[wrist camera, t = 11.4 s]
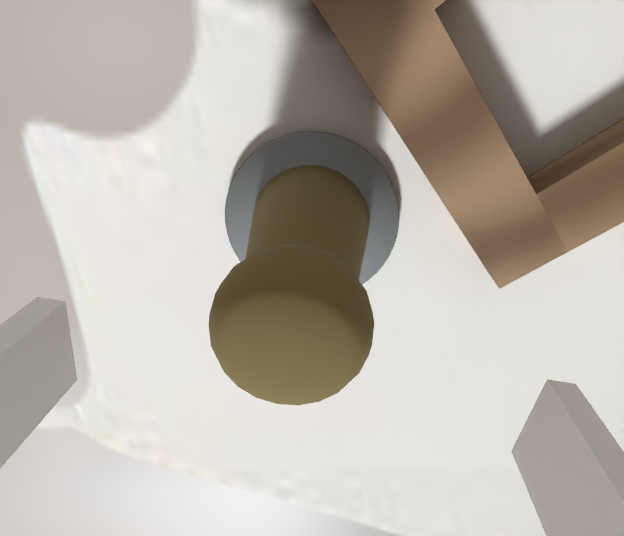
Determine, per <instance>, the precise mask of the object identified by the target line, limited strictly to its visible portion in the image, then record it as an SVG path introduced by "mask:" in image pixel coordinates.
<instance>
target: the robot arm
mask: <svg viewBox="0 0 624 536" xmlns="http://www.w3.org/2000/svg"><path fill="white" fill-rule="evenodd" d="M76 380H77V376H76V369H75V362H74V356H73V349H72V343H71V335H70V329H69V322H68V315H67V309H66V302H65V301H59V300H53V299H47V298H40V297H37V298H36V299H35V300H33V301H32V302H31V303H29V304H28V305H27V306H25V307H24V308H23V309H21V310H20V311H19V312H18V313H16V314H15V315H13V316H12V317H10V318H9V319H8V320H6V321H5V322H4V323H3V324H1V325H0V468H1V467H2V466H3V464H4V463H5V462H6V461H7V460H8V459H9V458H10V456H11V455H12V454H13V453H14V452H15V451H16V450H17V448H18V447H19V446H20V445H21V444H22V443H23V441H24V440H25V439H26V438H27V437H28V436H29V435H30V433H31V432H32V431H33V430H34V429H35V428H36V426H37V425H38V424H39V423H40V422H41V421H42V420H43V418H44V417H45V416H46V415H47V414H48V413H49V411H50V410H51V409H52V408H53V407H54V406H55V404H56V403H57V402H58V401H59V400H60V399H61V398H62V396H63V395H64V394H65V393H66V392H67V391H68V389H69V388H70V387H71V386H72V385H73V384H74V383H75V381H76ZM512 453H513V456H514V458H515V461H516V463H517V465H518V468H519V470H520V473H521V475H522V478H523V480H524V482H525V485H526V487H527V490H528V492H529V494H530V497H531V499H532V502H533V504H534V506H535V509H536V511H537V514H538V516H539V518H540V521H541V523H542V526H543V528H544V531H545V533H546V535H547V536H624V452H623V451H622V449H621V448H620V446H619V445H618V443H617V442H616V441H615V439H614V438H613V436H612V435H611V433H610V432H609V431H608V429H607V428H606V426H605V425H604V423H603V422H602V421H601V419H600V418H599V416H598V415H597V414H596V412H595V411H594V409H593V408H592V406H591V405H590V404H589V402H588V401H587V399H586V398H585V396H584V395H583V394H582V392H581V391H580V389H579V388H578V386H577V385H576V384H572V383H566V382H560V381H553V380H547V381H546V383H545V385H544V387H543V389H542V391H541V393H540V395H539V397H538V399H537V401H536V403H535V405H534V407H533V409H532V411H531V413H530V415H529V417H528V419H527V421H526V423H525V425H524V427H523V429H522V431H521V433H520V435H519V437H518V439H517V441H516V443H515V445H514V447H513V449H512Z"/></svg>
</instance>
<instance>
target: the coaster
mask: <svg viewBox="0 0 624 536" xmlns="http://www.w3.org/2000/svg"><path fill="white" fill-rule="evenodd" d="M300 165H320V166H324V167H327V168H330V169H333V170H335V171H338V172H340V173H342V174H343V175H344V176H346V177H347V178H348V179H349V180H351V181H352V182H353V183H354V184H355V185H356V186H357V188H358V189H359V191H360V192H361V194H362V195H363V197H364V198H365V200H366V204H367V208H368V212H369V216H370V219H369V230H368V237H367V242H366V247H365V252H364V257H363V262H362V267H361V272H360V277H359V281H360V283H361V284H363V283H365V282H366V281H368V280H369V279H370V278H371V277H372V276H373V275H375V274H376V273H377V272H378V270H379V269H380V268H381V267H382V266H383V265H384V263H385V261H386V260H387V258H388V257H389V255H390V253H391V251H392V249H393V247H394V244H395V240H396V237H397V232H398V227H399V211H398V203H397V199H396V195H395V192H394V189H393V187H392V184H391V182H390V180H389V178H388V176H387V174H386V173H385V171H384V169H383V168H382V167H381V165H380V164H379V163H378V162H377V160H376V159H375V158H373V157H372V156H371V155H370V154H369V153H368V152H367V151H366V150H364V149H363V148H361V147H360V146H359V145H357V144H355V143H353V142H351V141H350V140H348V139H345V138H342V137H340V136H337V135H333V134H328V133H324V132H298V133H293V134H288V135H285V136H282V137H279V138H276V139H275V140H273V141H271V142H269V143H267V144H265V145H264V146H262V147H261V148H259V149H258V150H257V151H255V152H254V153H253V154H252V155H251V156H250V157H249V158H248V159H247V160H246V161H245V163H244V164H243V165H242V166H241V168H240V169H239V170H238V172H237V174H236V175H235V177H234V179H233V181H232V183H231V186H230V188H229V191H228V195H227V199H226V206H225V223H226V229H227V234H228V237H229V240H230V243H231V245H232V248H233V250H234V252H235V253H236V255H237V257H238V258H239V260H240V261H241V262H242V261H243V260H245V258H246V252H247V247H248V241H249V235H250V229H251V223H252V218H253V212H254V209H255V205H256V202H257V198H258V195H259V194H260V192H261V191H262V190H263V188H264V187H265V186H266V184H267V183H268V181H269V180H271V179H272V178H274V177H275V176H277V175H278V174H279V173H281V172H282V171H284V170H287V169H290V168H294V167H297V166H300Z"/></svg>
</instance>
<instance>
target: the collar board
mask: <svg viewBox="0 0 624 536" xmlns="http://www.w3.org/2000/svg"><path fill="white" fill-rule="evenodd" d="M312 1H313V2H314V4H315V5H316V7H317V8H318V10H319V12H320V13H321V15H322V16H323V18H324V19H325V21H326V22H327V24H328V25H329V27H330V29H331V30H332V32H333V33H334V35H335V36H336V38H337V39H338V41H339V42H340V44H341V46H342V47H343V49H344V50H345V52H346V53H347V55H348V56H349V58H350V59H351V61H352V63H353V64H354V66H355V67H356V69H357V70H358V72H359V73H360V75H361V76H362V78H363V80H364V81H365V83H366V84H367V86H368V87H369V89H370V90H371V92H372V93H373V95H374V97H375V98H376V100H377V101H378V103H379V104H380V106H381V107H382V109H383V110H384V112H385V114H386V115H387V117H388V118H389V120H390V121H391V123H392V124H393V126H394V127H395V129H396V131H397V132H398V134H399V135H400V137H401V138H402V140H403V141H404V143H405V144H406V146H407V148H408V149H409V151H410V152H411V154H412V155H413V157H414V158H415V160H416V161H417V163H418V165H419V166H420V168H421V169H422V171H423V172H424V174H425V175H426V177H427V178H428V180H429V182H430V183H431V185H432V186H433V188H434V189H435V191H436V192H437V194H438V195H439V197H440V199H441V200H442V202H443V203H444V205H445V206H446V208H447V209H448V211H449V212H450V214H451V216H452V217H453V219H454V220H455V222H456V223H457V225H458V226H459V228H460V229H461V231H462V233H463V234H464V236H465V237H466V239H467V240H468V242H469V243H470V245H471V246H472V248H473V250H474V251H475V253H476V254H477V256H478V257H479V259H480V260H481V262H482V263H483V265H484V267H485V268H486V270H487V271H488V273H489V274H490V276H491V277H492V278H493V280H494V281H495V283H496V284H497V286H498V287H499V289H500V288H502V287H503V286H505V285H507V284H509V283H511V282H513V281H515V280H516V279H518V278H520V277H522V276H524V275H526V274H528V273H529V272H531V271H533V270H535V269H537V268H539V267H541V266H542V265H544V264H546V263H548V262H550V261H552V260H554V259H555V258H557V257H559V256H561V255H563V254H565V253H567V252H569V251H570V250H572V249H574V248H576V247H578V246H580V245H582V244H583V243H585V242H587V241H589V240H591V239H593V238H595V237H596V236H598V235H600V234H602V233H604V232H606V231H608V230H609V229H611V228H613V227H615V226H617V225H619V224H621V223H623V222H624V119H622V120H621V121H619V122H618V123H616V124H614V125H613V126H611V127H609V128H608V129H606V130H604V131H603V132H601V133H600V134H598V135H596V136H595V137H593V138H591V139H590V140H588V141H587V142H585V143H583V144H582V145H580V146H578V147H577V148H575V149H573V150H572V151H570V152H569V153H567V154H565V155H564V156H562V157H560V158H559V159H557V160H556V161H554V162H552V163H551V164H549V165H547V166H546V167H544V168H543V169H541V170H539V171H538V172H536V173H534V174H533V175H531V176H529V177H528V178H527V177H526V175H525V173H524V171H523V169H522V168H521V166H520V164H519V162H518V160H517V158H516V157H515V155H514V153H513V151H512V149H511V148H510V146H509V144H508V142H507V140H506V139H505V137H504V135H503V133H502V131H501V129H500V128H499V126H498V124H497V122H496V120H495V119H494V117H493V115H492V113H491V111H490V109H489V108H488V106H487V104H486V102H485V100H484V99H483V97H482V95H481V93H480V91H479V89H478V88H477V86H476V84H475V82H474V80H473V79H472V77H471V75H470V73H469V71H468V69H467V68H466V66H465V64H464V62H463V60H462V59H461V57H460V55H459V53H458V51H457V49H456V48H455V46H454V44H453V42H452V40H451V39H450V37H449V35H448V33H447V31H446V29H445V28H444V26H443V24H442V22H441V20H440V19H439V17H438V15H437V13H436V11H435V9H436V8H437V7H438V6H440V5H441V4H442V3H443V2H444V1H446V0H312Z"/></svg>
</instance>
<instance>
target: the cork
mask: <svg viewBox="0 0 624 536" xmlns="http://www.w3.org/2000/svg"><path fill="white" fill-rule="evenodd" d="M369 219H370V216H369V212H368V208H367V204H366V200H365V198H364V197H363V195H362V194H361V192H360V191H359V189H358V188H357V186H356V185H355V184H354V183H353V182H352V181H351V180H349V179H348V178H347V177H346V176H344V175H343V174H342V173H340V172H338V171H335V170H333V169H330V168H327V167H324V166H320V165H300V166H297V167H294V168H290V169H287V170H284V171H282V172H281V173H279V174H278V175H277V176H275V177H274V178H272V179H271V180H269V181H268V183H267V184H266V186H265V187H264V188H263V190H262V191H261V192H260V194H259V195H258V198H257V202H256V205H255V209H254V212H253V218H252V223H251V229H250V235H249V241H248V247H247V252H246V258H245V260H243V261H242V262H240V263H239V264H237V265H236V266H234V267H233V269H232V270H231V271H230V273H229V274H228V275H227V277H226V278H225V279H224V281H223V282H222V283H221V285H220V286H219V288H218V290H217V292H216V293H215V297H214V301H213V304H212V308H211V311H210V316H209V331H210V340H211V347H212V349H213V351H214V353H215V355H216V357H217V359H218V361H219V363H220V365H221V367H222V369H223V371H224V372H225V373H226V374H227V375H228V376H229V378H230V379H231V380H232V381H233V382H234V383H235V384H236V385H237V386H238V387H240V388H241V389H243V390H245V391H246V392H248V393H250V394H251V395H253V396H255V397H256V398H260V399H263V400H266V401H270V402H273V403H276V404H288V405H302V404H308V403H313V402H319V401H321V400H323V399H325V398H328V397H330V396H332V395H334V394H336V393H338V392H339V391H340V390H341V389H342V388H343V387H344V386H346V385H347V384H348V383H349V382H350V381H351V380H352V379H353V378H354V377H355V376H356V375H357V374H359V372H360V370H361V368H362V367H363V365H364V363H365V361H366V359H367V357H368V355H369V352H370V349H371V346H372V338H373V328H374V319H373V313H372V309H371V306H370V302H369V298H368V295H367V291H366V290H365V288H364V287H363V286H362V284H361V283H360V281H359V277H360V272H361V267H362V262H363V257H364V252H365V247H366V242H367V237H368V230H369Z"/></svg>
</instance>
